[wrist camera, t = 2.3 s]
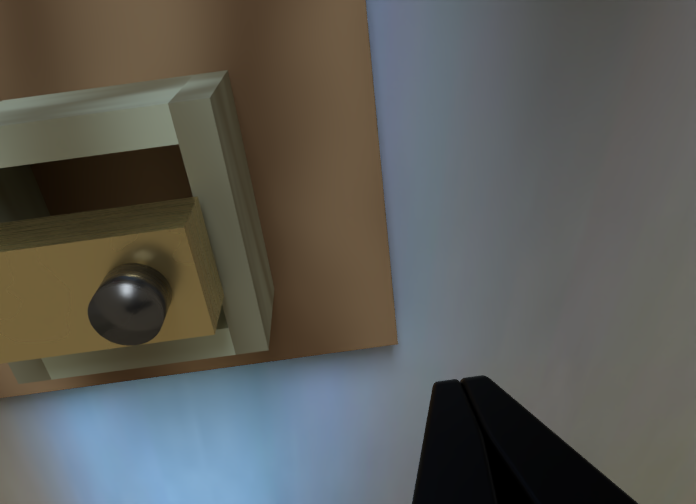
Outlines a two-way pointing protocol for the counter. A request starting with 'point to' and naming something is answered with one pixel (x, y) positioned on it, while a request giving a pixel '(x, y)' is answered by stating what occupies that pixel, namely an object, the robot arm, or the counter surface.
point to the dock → (207, 164)
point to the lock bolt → (106, 280)
